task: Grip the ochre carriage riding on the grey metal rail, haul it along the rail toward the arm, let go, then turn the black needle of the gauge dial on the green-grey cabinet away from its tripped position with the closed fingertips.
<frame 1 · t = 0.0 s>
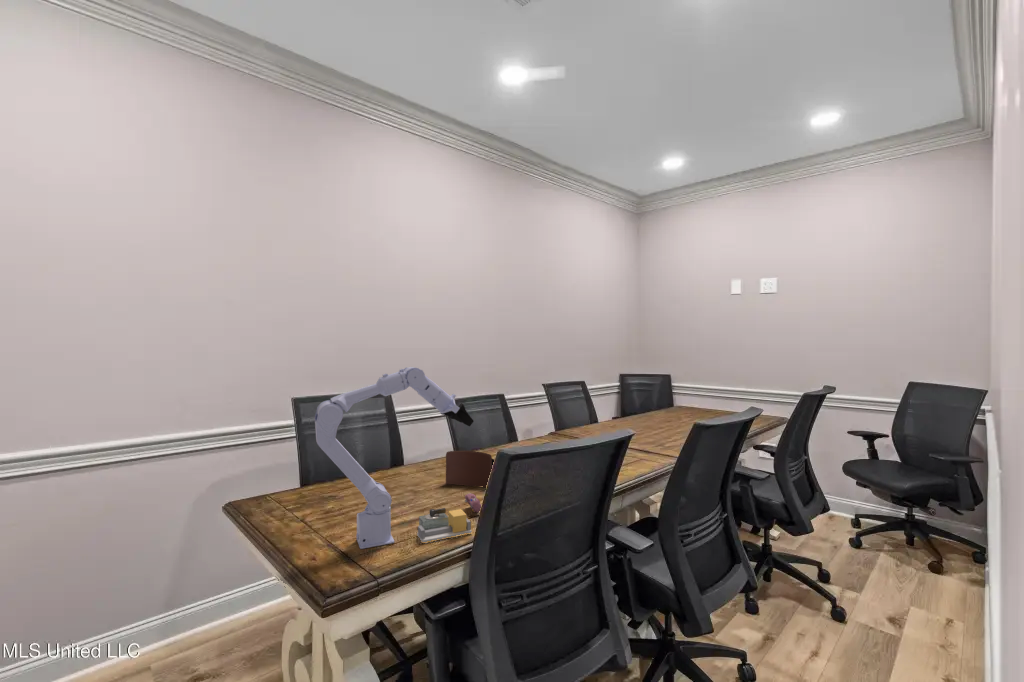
hand: (467, 421, 148), 32 cm above the table, tool tilted 50°, fingers open, 7 cm apart
rail: (444, 535, 140), on the table
letter holder: (472, 483, 192), on the table
gauge needle: (437, 511, 147), point 4 cm above the table, hinge at 0.0°
carriage: (457, 520, 141), point 4 cm above the table, slide at 4.0 cm
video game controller: (475, 511, 160), on the table
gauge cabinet: (433, 526, 146), on the table
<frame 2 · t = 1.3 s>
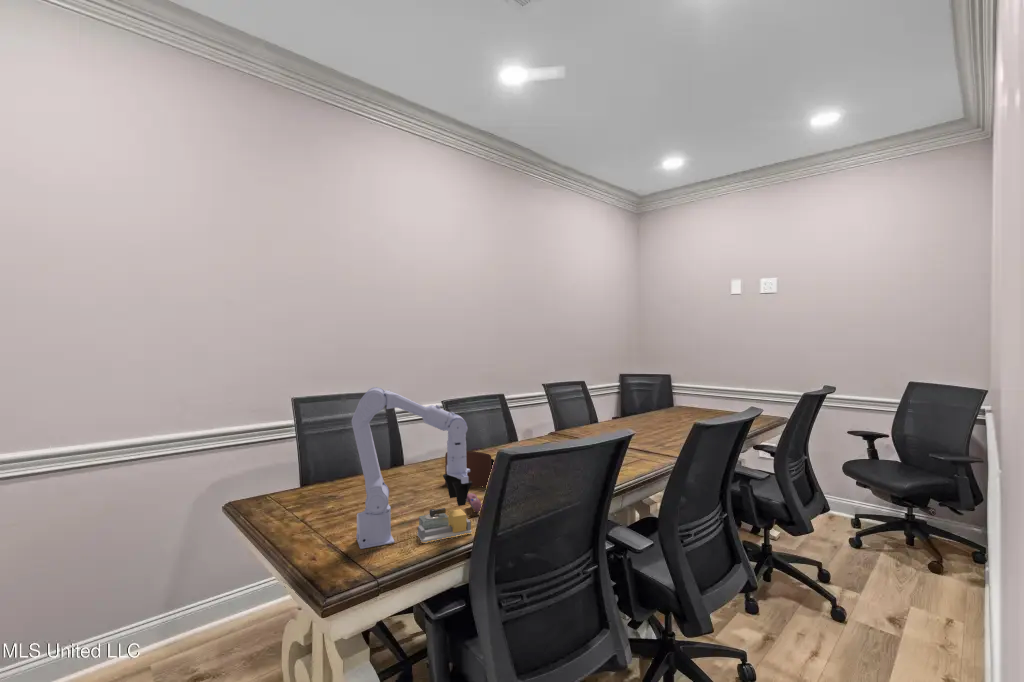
hand: (457, 501, 141), 10 cm above the table, tool pointing down, fingers open, 7 cm apart
nothing on the table moved.
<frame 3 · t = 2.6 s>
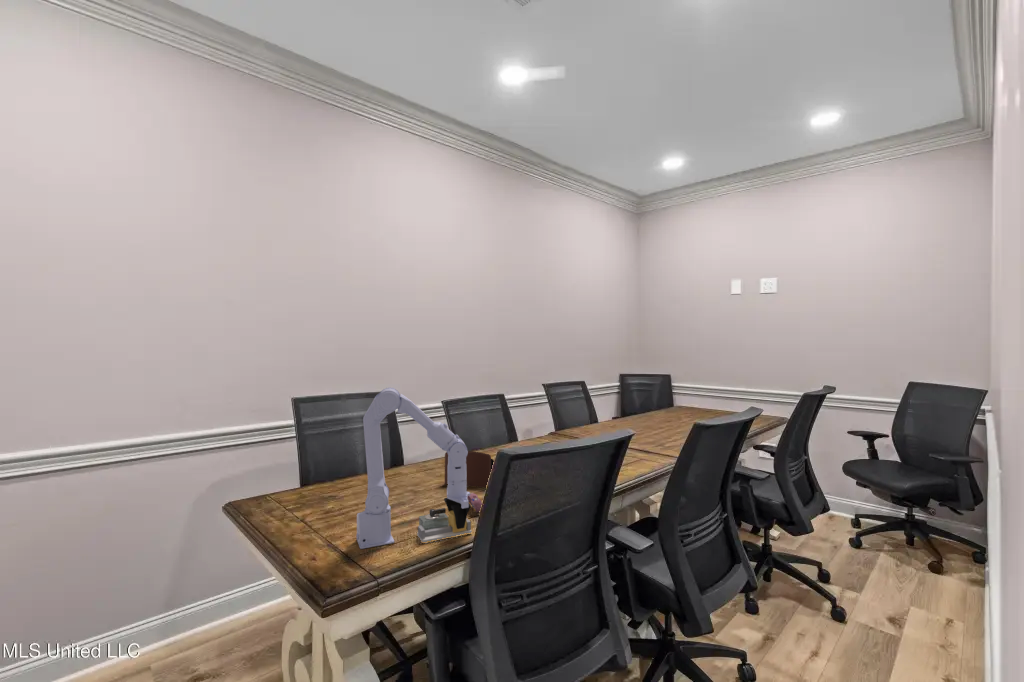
hand: (457, 524, 141), 2 cm above the table, tool pointing down, fingers closed on carriage, 5 cm apart
carriage: (457, 520, 141), point 4 cm above the table, slide at 4.0 cm, touching gripper
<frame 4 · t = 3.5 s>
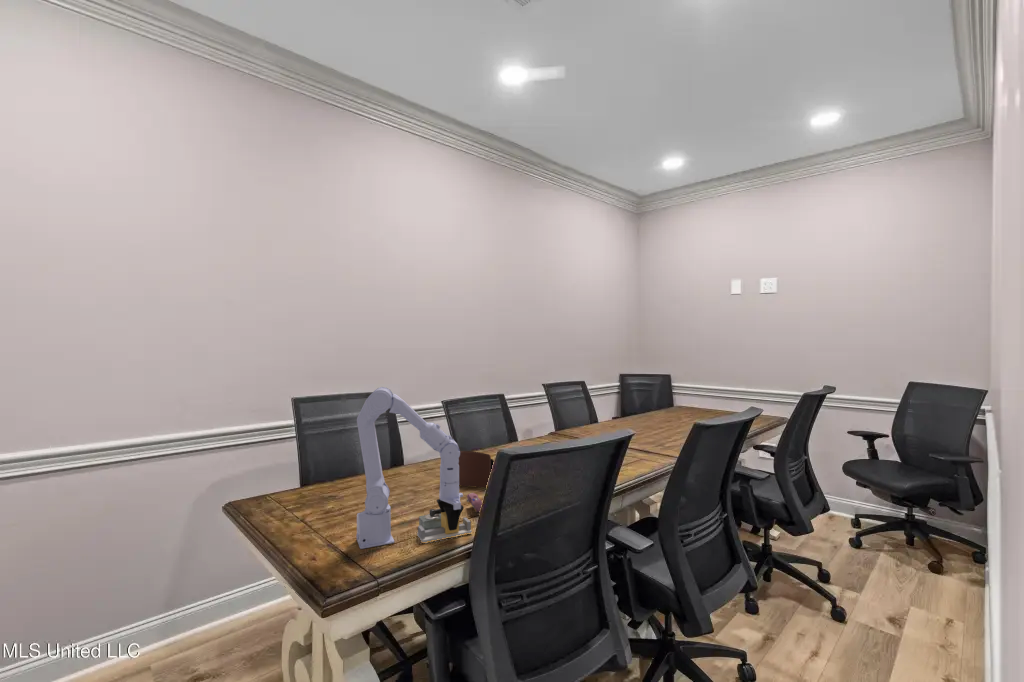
hand: (449, 526, 140), 2 cm above the table, tool pointing down, fingers closed on carriage, 5 cm apart
carriage: (450, 522, 140), point 4 cm above the table, slide at 1.7 cm, touching gripper
everything else where it was.
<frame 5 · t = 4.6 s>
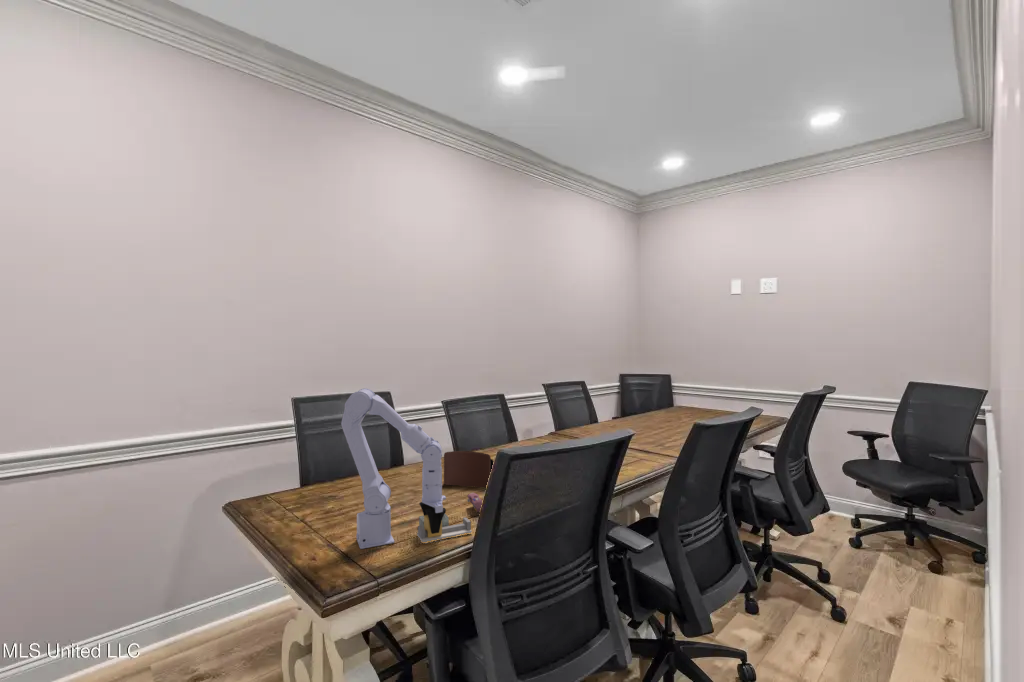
hand: (432, 529, 138), 2 cm above the table, tool pointing down, fingers closed on carriage, 5 cm apart
carriage: (432, 525, 138), point 4 cm above the table, slide at -3.5 cm, touching gripper
everything else where it was.
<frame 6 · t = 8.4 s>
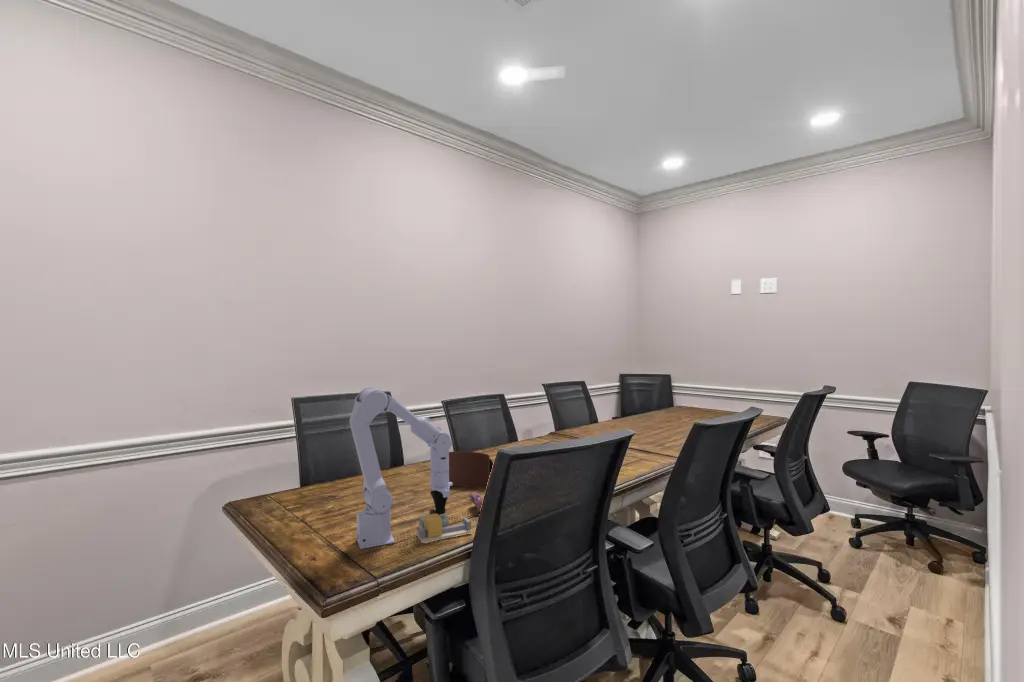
hand: (440, 513, 146), 4 cm above the table, tool pointing down, fingers closed, pressing on gauge needle
gauge needle: (437, 511, 147), point 4 cm above the table, hinge at 0.0°, touching gripper
carriage: (432, 525, 138), point 4 cm above the table, slide at -3.5 cm
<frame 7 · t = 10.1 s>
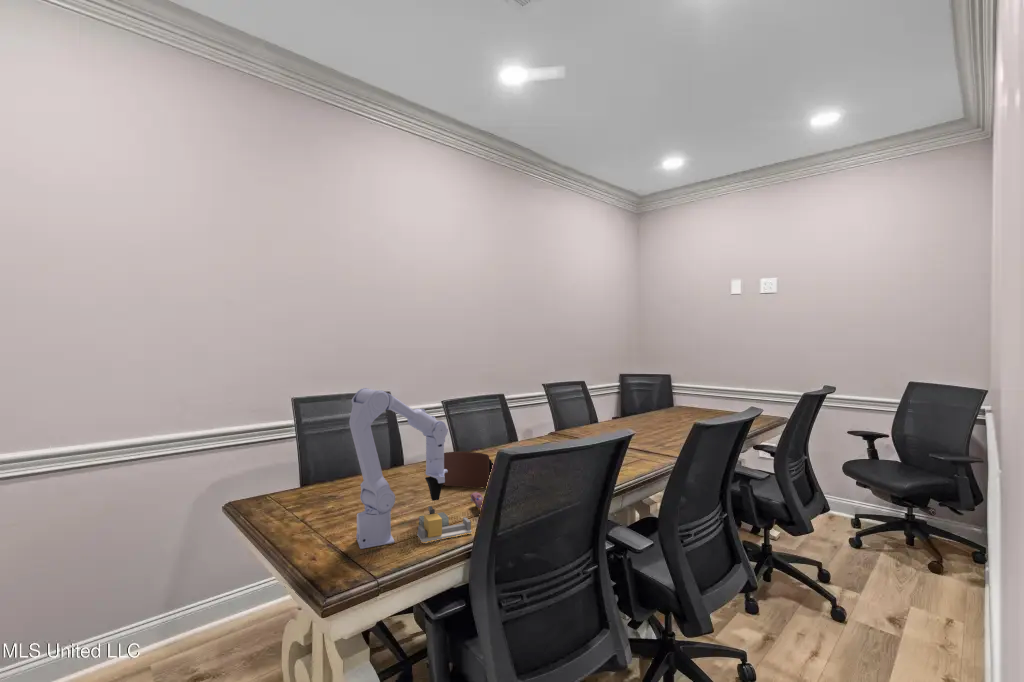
hand: (435, 499, 151), 7 cm above the table, tool pointing down, fingers closed
gauge needle: (431, 510, 148), point 4 cm above the table, hinge at 83.4°
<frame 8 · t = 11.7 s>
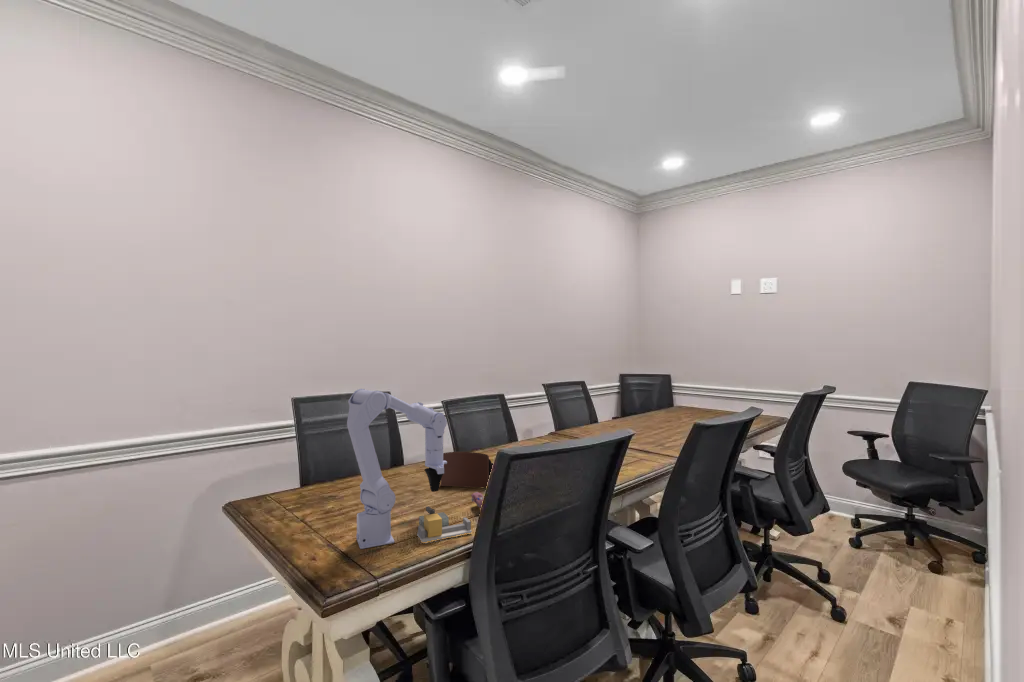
hand: (434, 490, 152), 9 cm above the table, tool pointing down, fingers closed
gauge needle: (430, 510, 148), point 4 cm above the table, hinge at 94.7°
at the end: carriage slide at -3.5 cm; gauge needle at +95° (first picture: +0°) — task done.
